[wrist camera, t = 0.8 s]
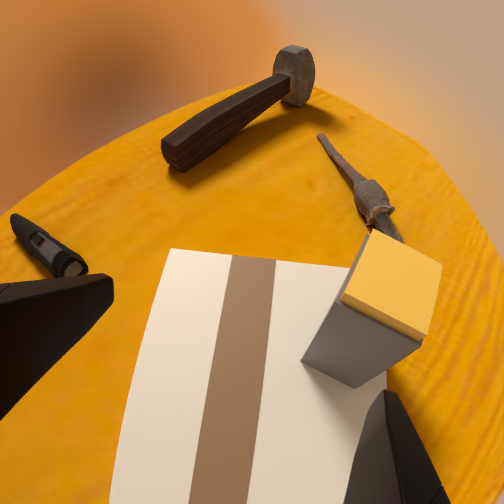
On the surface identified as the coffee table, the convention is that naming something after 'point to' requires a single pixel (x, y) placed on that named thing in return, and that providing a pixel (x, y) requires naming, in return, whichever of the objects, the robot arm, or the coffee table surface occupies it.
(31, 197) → the coffee table surface
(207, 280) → the board
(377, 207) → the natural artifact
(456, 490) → the coffee table surface
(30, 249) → the electric trimmer
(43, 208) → the coffee table surface
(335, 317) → the yellow-topped grey block
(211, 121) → the hammer
